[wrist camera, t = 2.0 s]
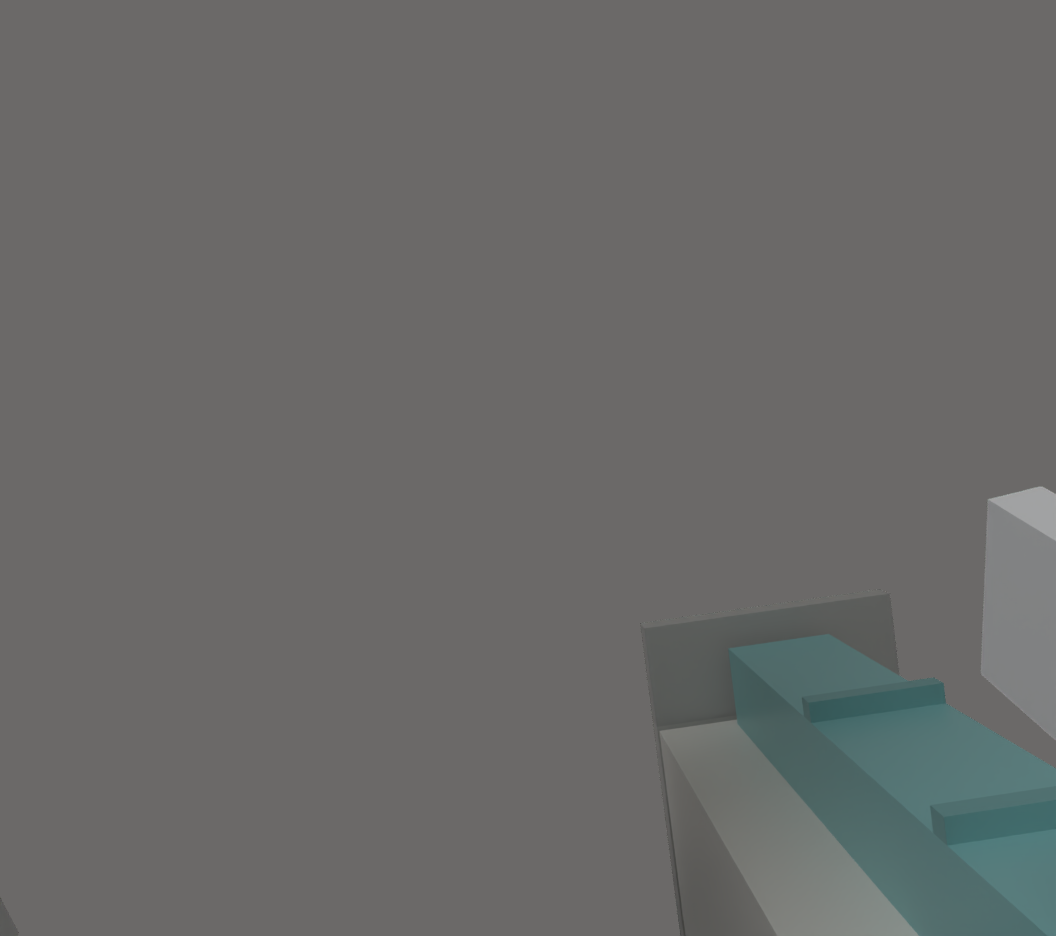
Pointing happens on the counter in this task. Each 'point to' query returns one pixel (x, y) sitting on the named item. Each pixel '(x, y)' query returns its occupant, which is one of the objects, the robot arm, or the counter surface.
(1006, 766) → the teal notched bar
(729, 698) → the tall gray box
